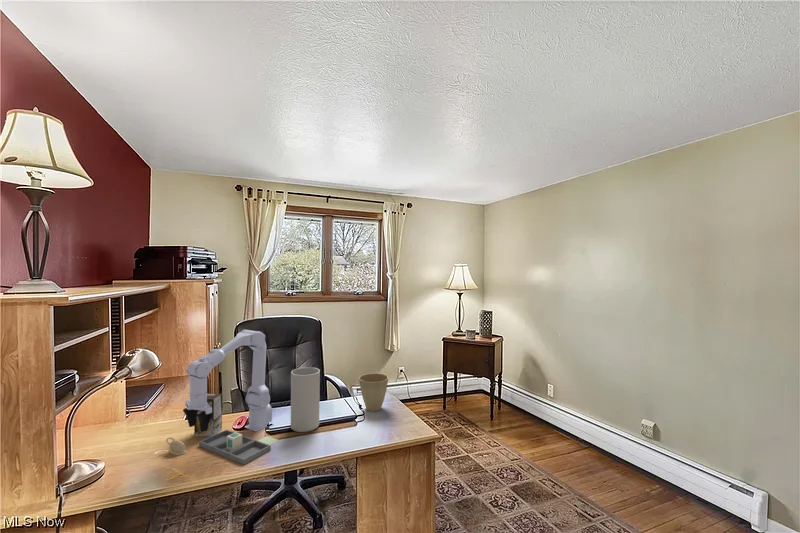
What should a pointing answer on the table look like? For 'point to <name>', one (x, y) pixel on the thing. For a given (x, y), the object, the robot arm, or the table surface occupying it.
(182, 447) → the decorative ornament
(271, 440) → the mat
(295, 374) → the cylinder vase
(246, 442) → the tray
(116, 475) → the table surface
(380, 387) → the plant pot
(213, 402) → the coffee box
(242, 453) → the tray
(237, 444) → the letter block
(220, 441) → the tray
